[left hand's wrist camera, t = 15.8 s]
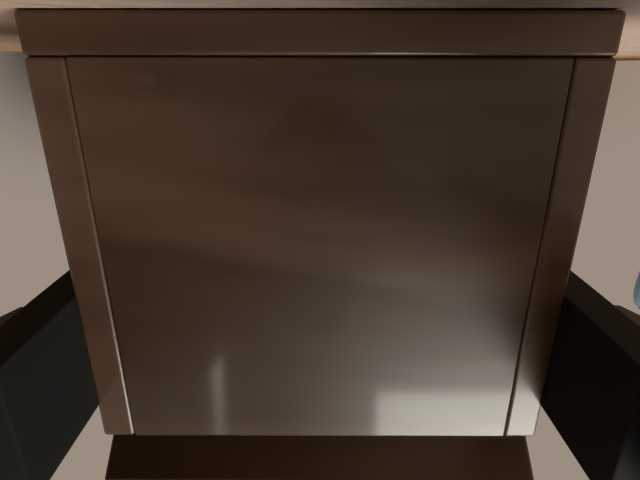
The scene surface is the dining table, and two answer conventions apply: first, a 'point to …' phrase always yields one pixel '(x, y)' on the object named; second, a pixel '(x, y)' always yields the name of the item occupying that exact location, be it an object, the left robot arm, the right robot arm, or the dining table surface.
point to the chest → (320, 210)
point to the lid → (318, 458)
